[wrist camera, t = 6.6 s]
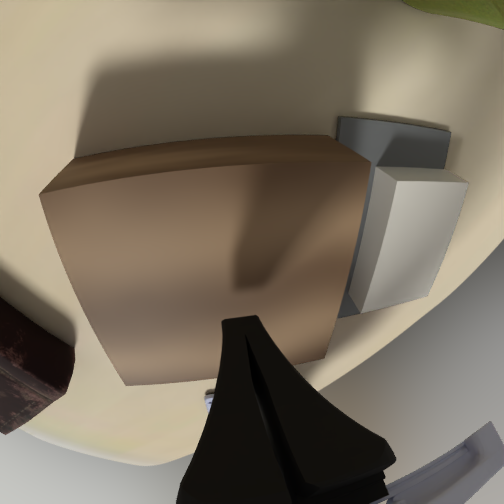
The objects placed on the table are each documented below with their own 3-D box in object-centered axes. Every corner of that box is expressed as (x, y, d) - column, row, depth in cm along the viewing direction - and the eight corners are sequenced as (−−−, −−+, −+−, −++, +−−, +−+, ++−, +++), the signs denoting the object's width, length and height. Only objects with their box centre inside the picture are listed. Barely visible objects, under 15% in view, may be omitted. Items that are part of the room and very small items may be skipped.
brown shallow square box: (304, 312, 20) (324, 358, 17) (129, 335, 18) (125, 385, 15) (327, 135, 13) (371, 162, 10) (73, 158, 11) (38, 194, 8)
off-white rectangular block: (360, 313, 18) (348, 293, 20) (427, 296, 19) (413, 279, 21) (397, 181, 13) (375, 166, 15) (468, 182, 14) (447, 169, 16)
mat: (397, 301, 22) (399, 303, 22) (308, 320, 21) (310, 324, 21) (448, 131, 14) (451, 132, 14) (338, 116, 13) (341, 117, 13)
